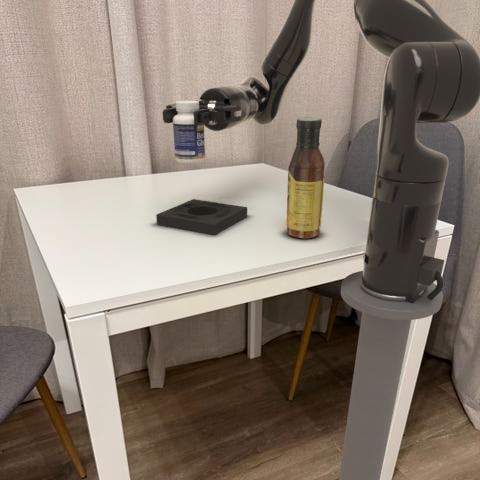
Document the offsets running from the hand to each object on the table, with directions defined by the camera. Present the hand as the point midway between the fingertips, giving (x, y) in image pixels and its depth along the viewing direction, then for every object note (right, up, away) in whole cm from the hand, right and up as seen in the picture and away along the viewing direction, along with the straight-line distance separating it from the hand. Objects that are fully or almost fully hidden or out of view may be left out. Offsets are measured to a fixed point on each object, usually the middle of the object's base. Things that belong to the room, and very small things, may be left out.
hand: (180, 117), depth 81 cm
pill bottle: (+1, -6, +6) cm, 8 cm away
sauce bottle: (+21, -19, +7) cm, 29 cm away
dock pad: (+3, -14, +14) cm, 21 cm away
